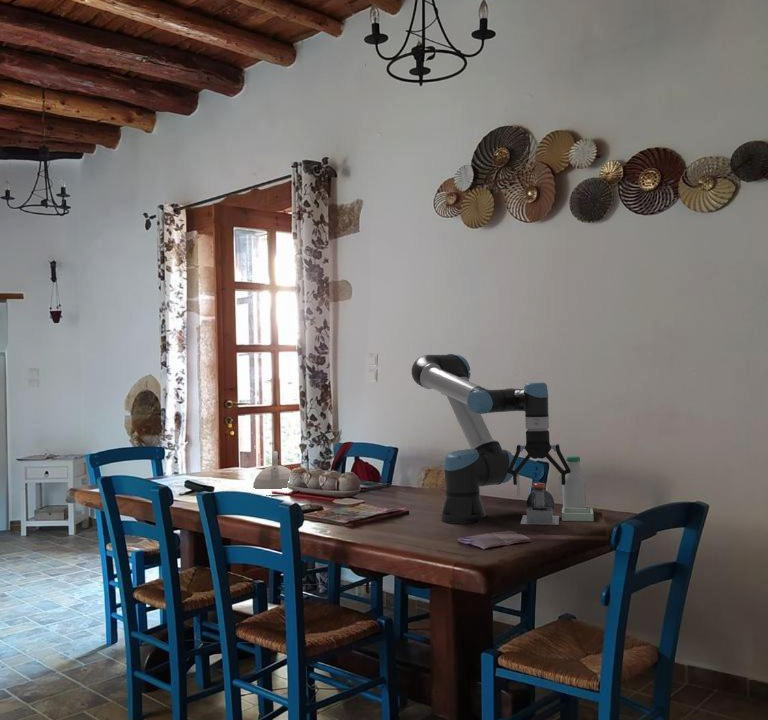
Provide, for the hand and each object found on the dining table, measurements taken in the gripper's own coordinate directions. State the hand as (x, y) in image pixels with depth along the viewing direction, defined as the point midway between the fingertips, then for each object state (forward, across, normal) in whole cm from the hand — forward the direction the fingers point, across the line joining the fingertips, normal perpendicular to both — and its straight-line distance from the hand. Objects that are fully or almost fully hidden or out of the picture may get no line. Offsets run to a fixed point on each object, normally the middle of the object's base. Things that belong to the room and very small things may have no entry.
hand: (539, 495), depth 261 cm
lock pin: (+8, 0, 0) cm, 9 cm away
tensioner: (+10, 0, +3) cm, 10 cm away
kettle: (+9, -114, +61) cm, 130 cm away
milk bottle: (+10, +11, +20) cm, 25 cm away
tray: (+10, +12, +7) cm, 17 cm away
